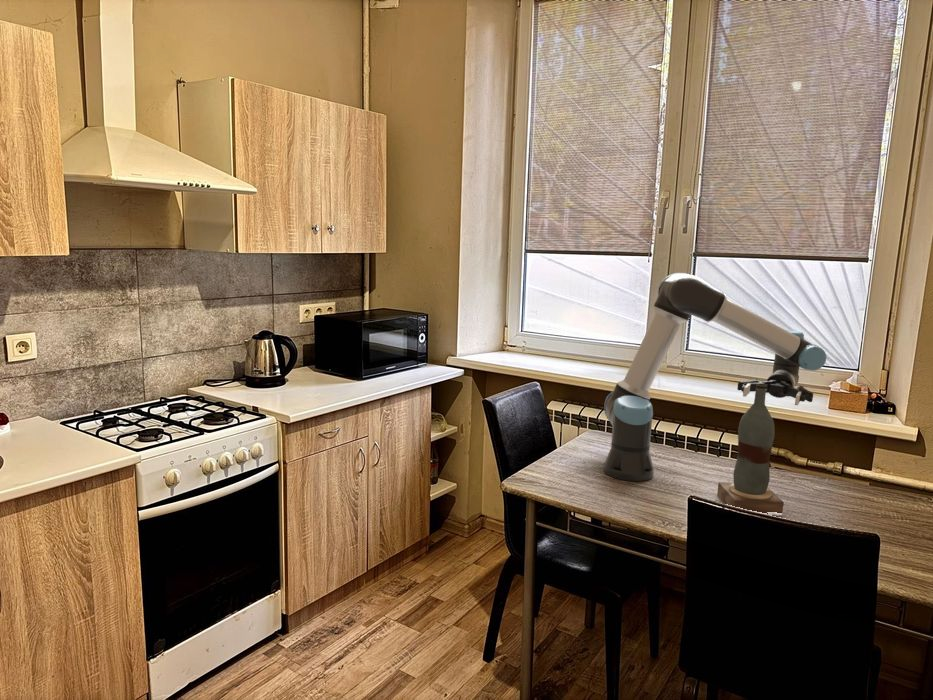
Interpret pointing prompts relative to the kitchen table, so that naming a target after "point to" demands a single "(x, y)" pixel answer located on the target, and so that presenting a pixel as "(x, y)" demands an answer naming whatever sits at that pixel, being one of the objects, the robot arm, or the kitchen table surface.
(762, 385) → the vodka
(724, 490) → the soap dish
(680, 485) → the kitchen table surface
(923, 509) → the kitchen table surface
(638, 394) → the robot arm
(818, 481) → the kitchen table surface
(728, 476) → the kitchen table surface
